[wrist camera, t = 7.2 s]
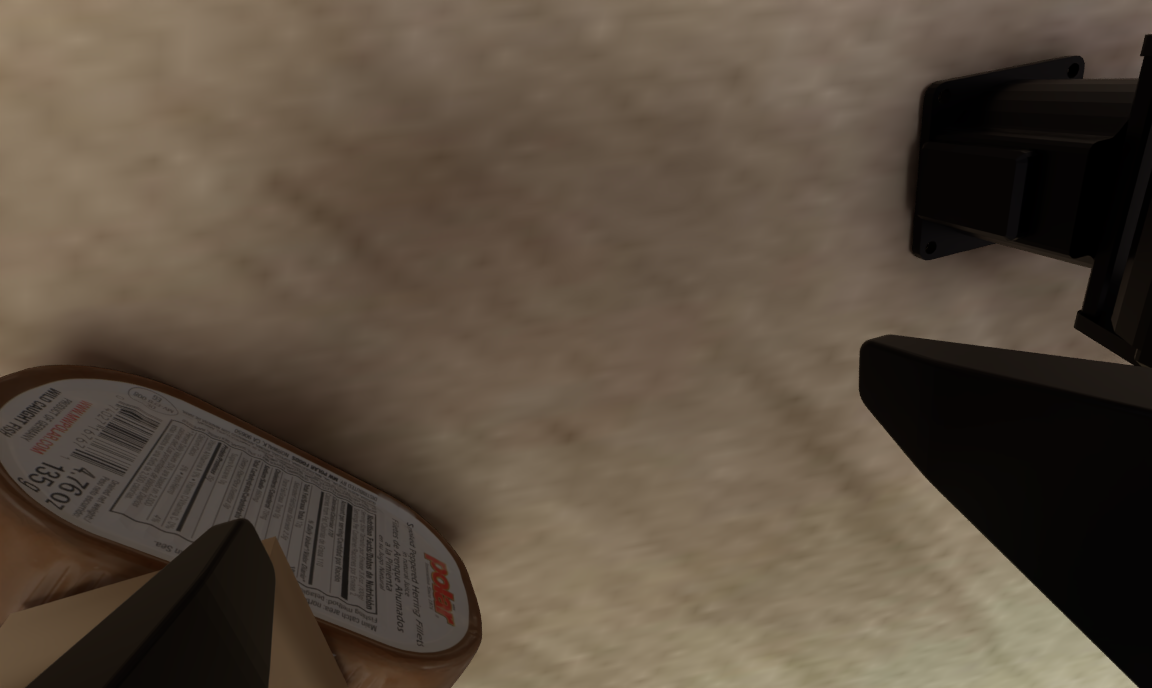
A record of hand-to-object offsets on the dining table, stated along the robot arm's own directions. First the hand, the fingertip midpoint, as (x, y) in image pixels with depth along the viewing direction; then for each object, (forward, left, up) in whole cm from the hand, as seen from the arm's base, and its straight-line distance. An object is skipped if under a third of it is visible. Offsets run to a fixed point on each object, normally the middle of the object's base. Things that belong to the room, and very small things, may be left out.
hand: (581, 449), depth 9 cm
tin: (+8, +6, -13) cm, 17 cm away
